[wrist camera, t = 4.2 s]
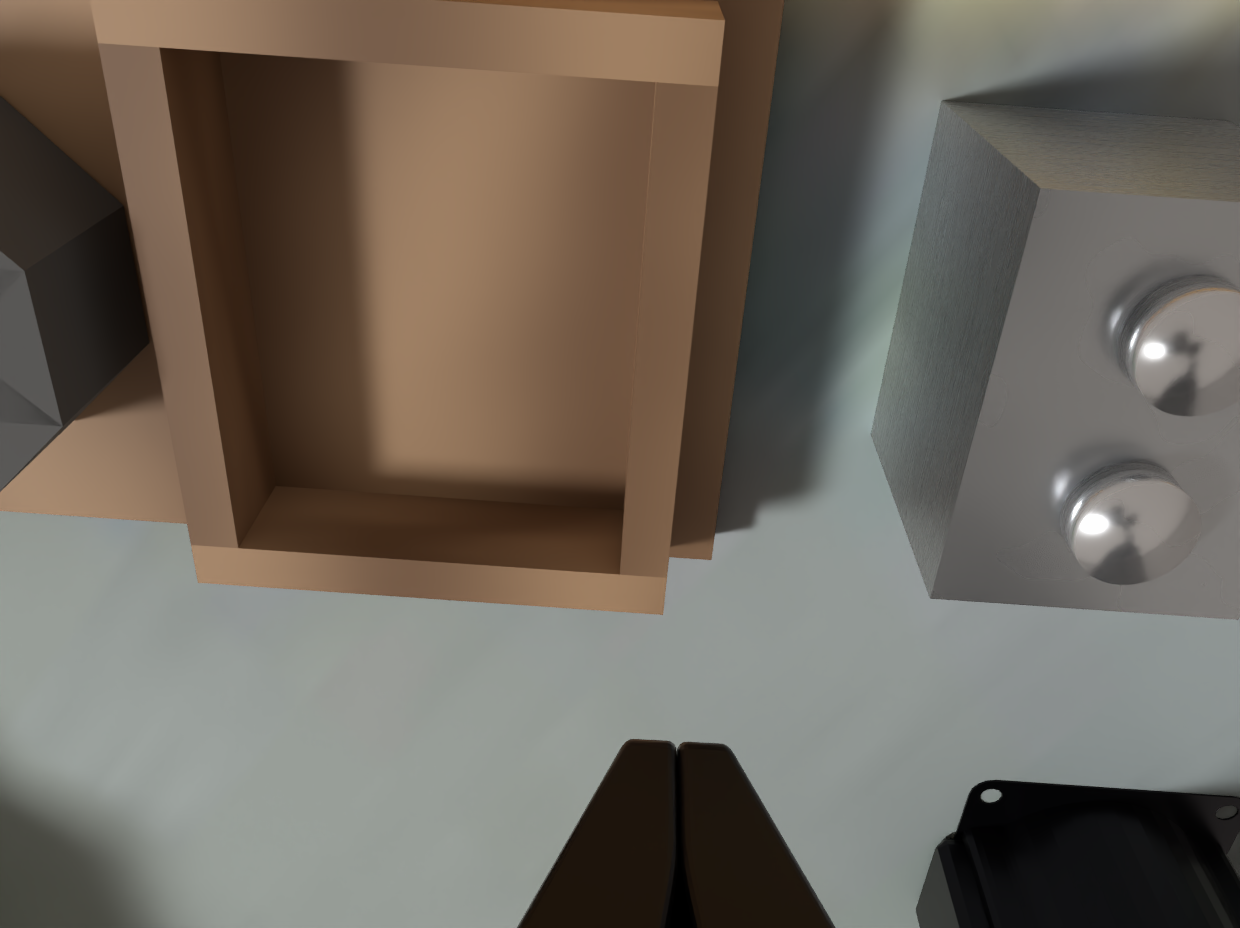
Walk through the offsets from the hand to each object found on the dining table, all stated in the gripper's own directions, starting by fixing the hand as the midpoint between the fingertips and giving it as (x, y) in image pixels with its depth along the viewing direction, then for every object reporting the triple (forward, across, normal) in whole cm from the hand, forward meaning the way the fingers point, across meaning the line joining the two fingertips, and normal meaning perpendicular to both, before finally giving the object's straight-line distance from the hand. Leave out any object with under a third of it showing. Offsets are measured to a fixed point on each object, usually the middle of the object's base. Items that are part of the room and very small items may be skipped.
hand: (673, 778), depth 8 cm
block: (+11, -6, 0) cm, 13 cm away
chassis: (+11, +7, 0) cm, 13 cm away
